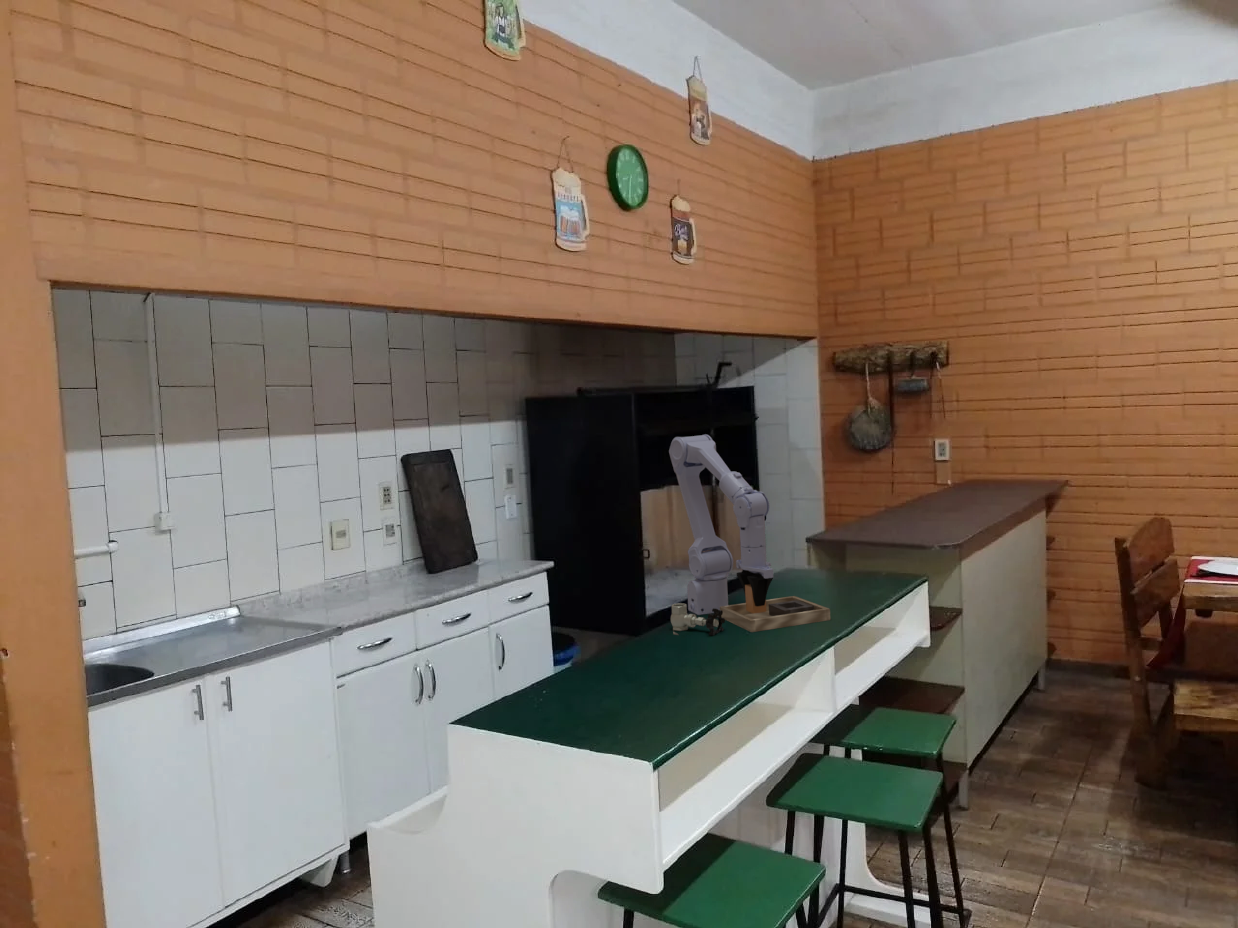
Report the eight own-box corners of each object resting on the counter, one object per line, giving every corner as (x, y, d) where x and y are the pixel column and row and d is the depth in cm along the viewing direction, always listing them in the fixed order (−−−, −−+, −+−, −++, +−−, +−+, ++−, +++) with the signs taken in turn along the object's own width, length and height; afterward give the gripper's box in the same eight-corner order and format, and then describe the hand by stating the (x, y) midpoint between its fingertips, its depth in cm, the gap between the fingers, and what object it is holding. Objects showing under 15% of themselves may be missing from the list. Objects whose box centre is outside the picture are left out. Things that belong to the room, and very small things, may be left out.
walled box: (751, 636, 205) (750, 620, 204) (720, 621, 220) (719, 606, 219) (830, 623, 211) (829, 608, 211) (795, 609, 226) (794, 595, 226)
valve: (665, 636, 210) (711, 641, 203) (663, 607, 209) (709, 612, 202) (680, 629, 215) (725, 634, 208) (679, 601, 215) (724, 605, 208)
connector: (753, 613, 212) (751, 582, 211) (746, 610, 215) (744, 579, 214) (766, 611, 213) (764, 580, 212) (759, 608, 216) (757, 577, 215)
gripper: (784, 548, 207) (786, 607, 208) (754, 539, 221) (756, 595, 222) (755, 551, 205) (758, 612, 206) (727, 542, 218) (729, 599, 219)
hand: (755, 603), depth 214 cm, fingers closed on connector, 3 cm apart
